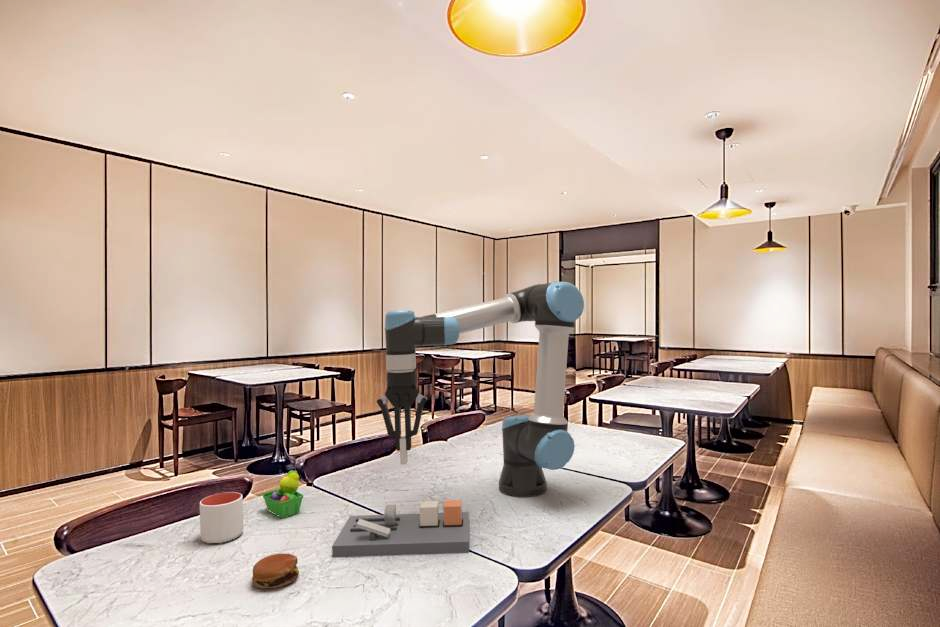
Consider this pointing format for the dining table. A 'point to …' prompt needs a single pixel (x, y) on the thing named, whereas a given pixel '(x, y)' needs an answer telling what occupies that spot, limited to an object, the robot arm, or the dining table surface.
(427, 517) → the button
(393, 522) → the slider knob
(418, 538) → the console
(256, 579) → the burger
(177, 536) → the dining table surface
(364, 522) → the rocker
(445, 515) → the button
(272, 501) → the fruit basket
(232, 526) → the cup
